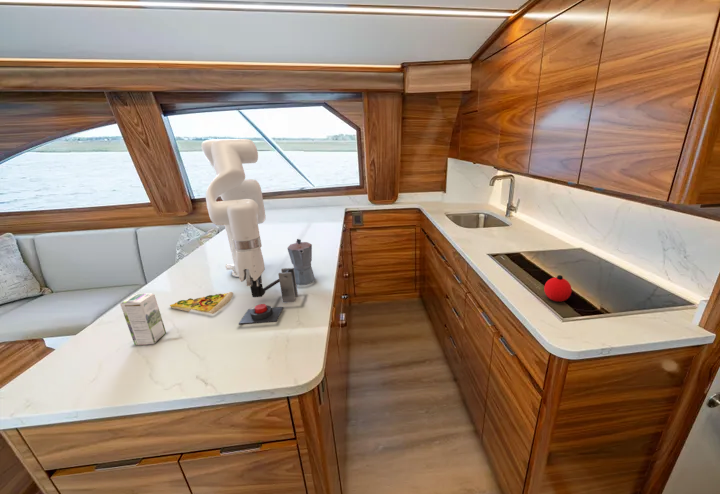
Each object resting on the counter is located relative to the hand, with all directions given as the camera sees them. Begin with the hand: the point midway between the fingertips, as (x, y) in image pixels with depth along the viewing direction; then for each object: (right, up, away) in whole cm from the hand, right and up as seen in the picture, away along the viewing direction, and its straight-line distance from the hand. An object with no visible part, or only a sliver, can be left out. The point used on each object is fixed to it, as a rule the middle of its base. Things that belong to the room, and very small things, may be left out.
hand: (258, 295), depth 98 cm
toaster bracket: (+6, -4, +14) cm, 16 cm away
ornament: (+105, -4, +13) cm, 106 cm away
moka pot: (+6, +1, +30) cm, 30 cm away
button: (0, -6, +2) cm, 6 cm away
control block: (0, -8, +3) cm, 9 cm away
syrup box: (-30, -13, -6) cm, 33 cm away
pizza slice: (-27, -6, +12) cm, 30 cm away
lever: (+1, +2, +12) cm, 12 cm away
